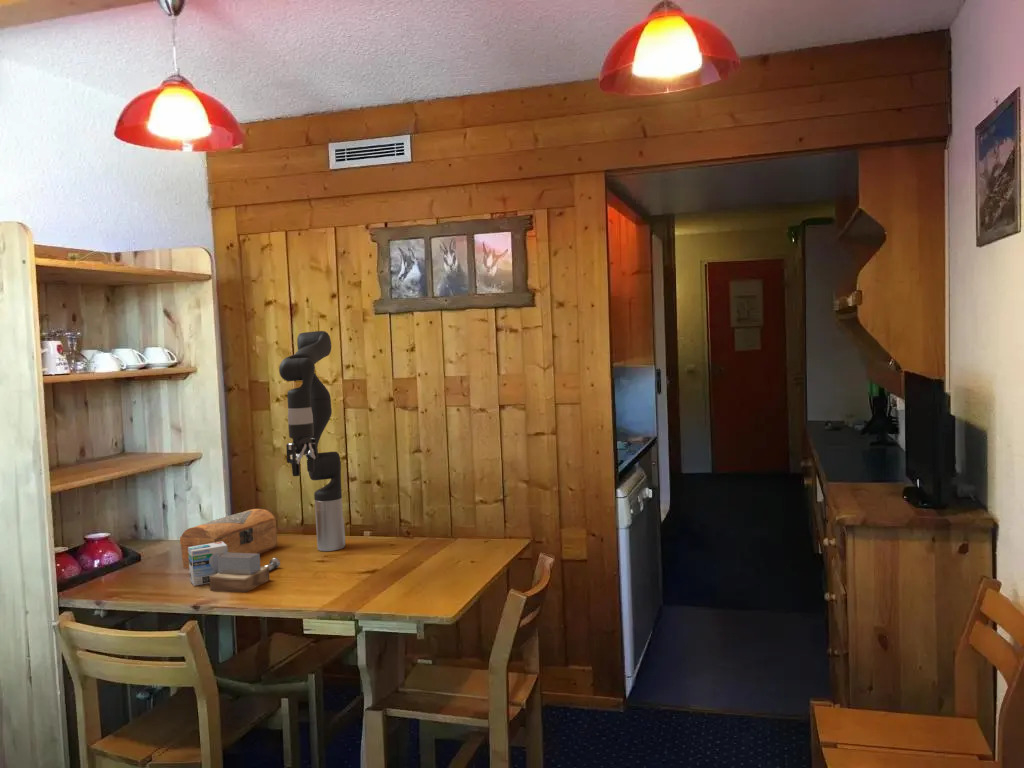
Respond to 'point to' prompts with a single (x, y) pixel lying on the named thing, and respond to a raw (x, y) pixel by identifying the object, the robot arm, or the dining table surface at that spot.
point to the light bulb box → (204, 561)
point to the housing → (239, 563)
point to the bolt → (273, 564)
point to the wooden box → (234, 533)
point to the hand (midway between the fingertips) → (303, 473)
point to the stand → (238, 581)
